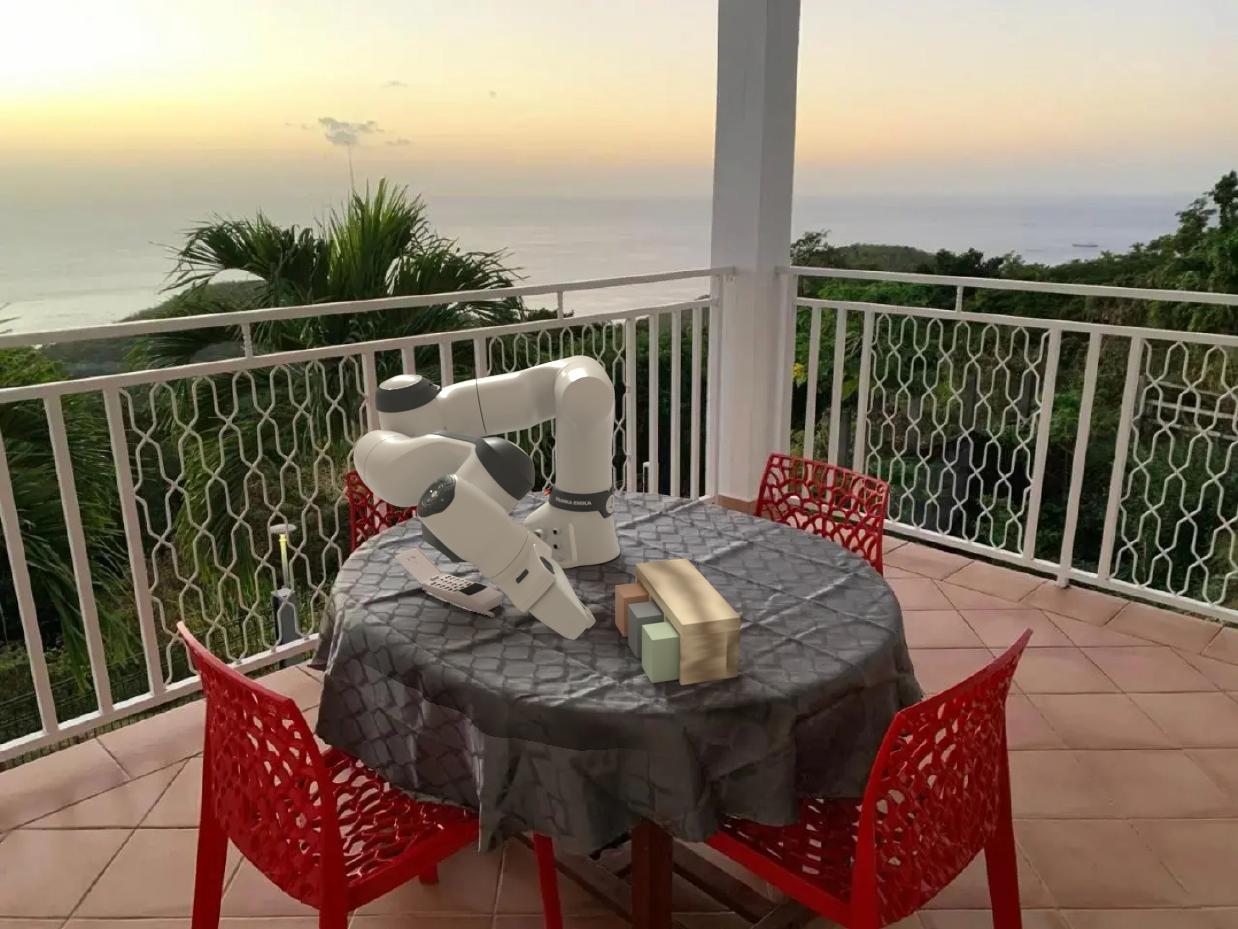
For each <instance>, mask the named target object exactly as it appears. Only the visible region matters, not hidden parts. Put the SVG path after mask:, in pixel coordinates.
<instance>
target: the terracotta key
mask: <svg viewBox="0 0 1238 929" xmlns="http://www.w3.org/2000/svg"><path fill="white" fill-rule="evenodd" d="M614 590H615V591H614V595H615V597H614V598H615V600H614V605H615V606H614V607H615V608H614V611H615V613H614V614H615V616H614V618H615V619H614V623H615V626H616V628H618V630H619V632H620V634H621V635H622V637H623V638H626V637H627V638H628V604H634V603H642V602H649V592H648V591H647V590H646V588H645V587H644V586H643V584H642V583H641V582H639V583H635V582H633V583H622V584H617V585H616V584H615V585H614Z"/></svg>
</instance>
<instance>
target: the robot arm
mask: <svg viewBox="0 0 1238 929" xmlns="http://www.w3.org/2000/svg"><path fill="white" fill-rule="evenodd" d="M605 370H606V369H604V367H603V366H602V364H600V362H598V361H597V360H596V359H595V358H592V357H591V356H587V355H573V356H569V357H566V358H560V359H557V360H553V361H550V362H546V363H542V364H539V365H536V366H532V367H528V368H525V369H522V370H518V371H512V372H507V373H501V374H497V375H496V374H495V375H491V376H490V375H489V376H486V377H480V378H475V379H473V378H472V379H469V380H465V381H460V382H456V383H453V384H450V385H447V386H444V387H441V386H440V385H437V384H434V383H433V382H432V381H431V380H430V379H428V378H426V377H424V376H422V375H419V374H399V375H395V376H393V377H391V378H388V379H387V380H386V379H385V381H382V382H381V383H380V384H379V385H378V387H377V388H376V390H375V392H374V393H375V394H374V401H375V402H374V403H375V409H376V411H377V413H378V419H379V420H378V421H379V427H380V429H376V430H372V431H369V432H367V433H366V434H364V435H363V436H362V437H361V438H360V439H358V442H356V445H355V448H354V450H353V464H354V467H355V470H356V472H357V474H358V476H359V478H360V479H361V480H362V482H363V483H364V485H365V486H366V487H367V488H368V489H369V490H370V491H371V492H372V493H373V495H376V496H377V497H378V498H379V499H381V500H382V501H384V502H386V503H388V504H390V505H392V506H395V507H401V508H409V507H415V506H417V507H416V515H417V517H418V520H420V529H421V536H422V539H423V540H424V541H425V543H427V544H428V545H430V546H431V547H433V548H434V549H436V550H437V551H438V552H440V553H441V554H442V555H444V556H445V557H447V559H449V560H450V563H457V564H458V563H459V564H460V563H467V562H469V563H470V564H472V565H473V566H474V567H476V568H477V570H478V571H479V573H480V574H481V575H482V577H483V578H485V579H486V580H487V581H489V582H490V583H491V584H492V585H494V586H495V587H496V588H497V589H498V590H499V591H500V592H501V593H502V594H503V593H504V595H506V597H507V598H508V599H509V601H510V602H511V603H512V605H513V606H514V607H515V608H517V609H518V610H519V611H520V612H522V613H526V612H527V611H529V613H530V614H531V615H533V616H534V617H535V618H536V619H537V620H539V621H540V622H542V623H543V624H545V625H546V626H547V627H549V628H550V629H552V630H553V631H555V632H556V633H558V634H559V635H561V636H562V637H564V638H566V639H568V640H573V641H574V640H576V639H577V638H578V637H579V636H581V635H582V633H583V632H584V631H585V630H586V629H590V628H592V626H593V625H594V624H596V619H595V616H594V614H593V613H592V611H591V610H590V609H589V608H588V607H587V606H586V605H584V603H583V602H582V601H581V600H580V599H579V598H578V596H577V594H576V593H575V591H574V589H573V587H572V585H571V583H570V582H569V579H568V578H567V575H566V574H565V572H564V570H563V569H571V568H575V567H579V566H581V567H582V566H592V565H599V564H603V563H607V562H609V561H612V560H614V559H616V558H617V557H618V556H619V555H620V553H621V548H620V544H619V542H618V539H617V533H616V527H615V520H614V513H615V503H616V502H615V484H613V472H612V471H613V470H612V469H613V468H612V467H613V462H612V460H613V455H612V453H613V450H612V449H613V436H614V435H613V434H614V422H615V404H616V403H615V400H616V399H615V398H616V396H615V395H616V394H615V392H616V391H615V387H614V385H613V383H612V380H611V379H610V377H609V375H608V374H607V372H606V371H605ZM553 419H555V443H554V444H555V445H554V446H555V447H554V448H555V449H554V451H555V483H553V484H551V485H549V486H548V487H549V488H546V489H545V490H544V492H545V493H544V496H545V497H546V496H549V497H548V500H547V501H546V502H544V503H543V504H542V505H540V506H539V507H538V508H537V509H535V510H534V511H533V512H532V513H530V514H529V515H527V517H525V519H524V520H523V523H520V522H518V521H516V520H514V519H513V518H512V517H511V516H510V515H509V514H510V513H511V511H512V510H513V509H514V508H515V506H517V505H518V503H519V502H520V501H521V500H523V499H524V498H525V497H526V495H528V494H529V492H531V490H532V489H533V488H534V487H535V481H536V470H535V463H534V460H533V459H531V458H530V456H529V455H528V454H527V453H526V451H525V450H524V449H522V447H520V446H519V445H517V444H515V443H514V442H512V441H510V440H508V439H504V438H502V437H499V436H498V437H488V438H481V437H484V436H487V435H488V436H490V435H495V434H496V435H501V434H505V433H510V432H511V433H512V432H516V431H522V430H526V429H527V430H528V429H530V428H532V427H534V426H536V425H539V424H541V423H544V422H547V421H550V420H553Z"/></svg>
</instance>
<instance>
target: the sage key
mask: <svg viewBox="0 0 1238 929" xmlns="http://www.w3.org/2000/svg"><path fill="white" fill-rule="evenodd" d="M641 668H642V669H643V671H644V672H645V674H646V676H647V678H648V679H649V681H650V682H651V684H655V683H661V682H668V681H675V680H676V681H677V680H679V679H680V634H679V632H678V631H677V630H676V628H675V627H674V626H673V624H672V623H671V622H662V623H655V624H647V625H642V658H641Z"/></svg>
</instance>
